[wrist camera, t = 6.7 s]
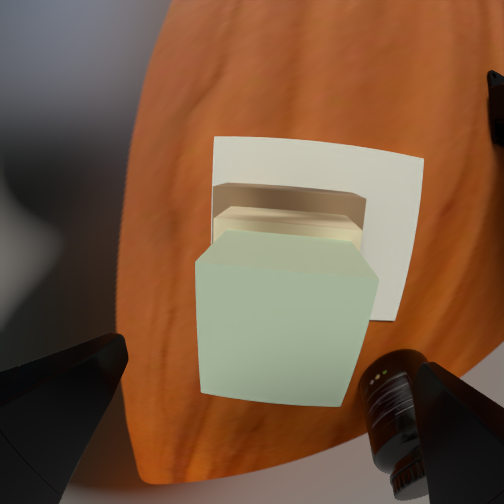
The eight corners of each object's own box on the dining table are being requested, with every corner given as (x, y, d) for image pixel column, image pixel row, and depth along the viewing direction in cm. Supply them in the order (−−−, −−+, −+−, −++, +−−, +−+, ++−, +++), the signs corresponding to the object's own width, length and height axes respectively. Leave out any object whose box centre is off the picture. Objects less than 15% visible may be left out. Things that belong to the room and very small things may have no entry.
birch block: (346, 215, 14) (362, 231, 11) (330, 317, 16) (337, 353, 12) (231, 206, 15) (213, 218, 11) (228, 308, 16) (213, 342, 13)
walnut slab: (352, 192, 17) (366, 198, 13) (335, 306, 19) (343, 332, 16) (227, 182, 18) (213, 186, 14) (224, 296, 20) (212, 320, 17)
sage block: (350, 240, 11) (379, 279, 7) (330, 344, 12) (340, 406, 9) (226, 229, 11) (195, 262, 8) (224, 333, 13) (201, 392, 9)
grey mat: (422, 158, 16) (423, 158, 15) (393, 318, 19) (394, 320, 19) (215, 136, 17) (214, 136, 17) (212, 304, 21) (211, 306, 21)
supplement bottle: (438, 365, 20) (487, 462, 9) (385, 409, 22) (409, 509, 11) (401, 332, 20) (457, 449, 8) (342, 383, 22) (357, 504, 10)
